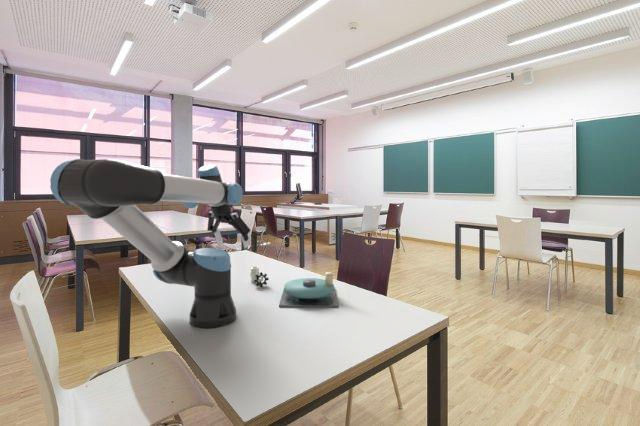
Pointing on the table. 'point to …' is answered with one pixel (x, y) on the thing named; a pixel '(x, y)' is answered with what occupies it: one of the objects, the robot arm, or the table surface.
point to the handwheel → (310, 287)
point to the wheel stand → (308, 301)
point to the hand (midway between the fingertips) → (233, 244)
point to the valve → (258, 276)
